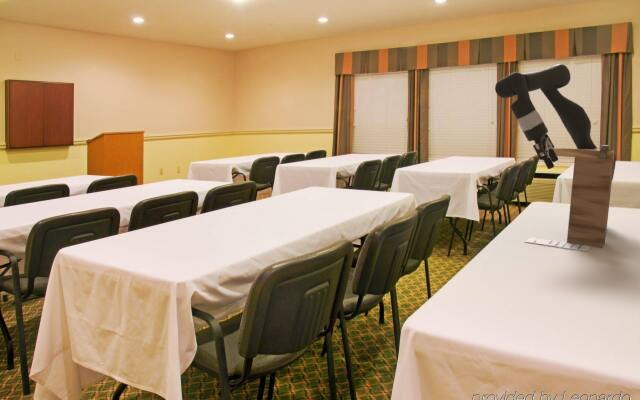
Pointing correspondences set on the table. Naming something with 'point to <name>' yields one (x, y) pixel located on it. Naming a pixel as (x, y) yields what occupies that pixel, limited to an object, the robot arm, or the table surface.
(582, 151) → the block
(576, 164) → the brown piece
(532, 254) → the table surface
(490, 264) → the table surface
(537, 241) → the letter
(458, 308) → the table surface
